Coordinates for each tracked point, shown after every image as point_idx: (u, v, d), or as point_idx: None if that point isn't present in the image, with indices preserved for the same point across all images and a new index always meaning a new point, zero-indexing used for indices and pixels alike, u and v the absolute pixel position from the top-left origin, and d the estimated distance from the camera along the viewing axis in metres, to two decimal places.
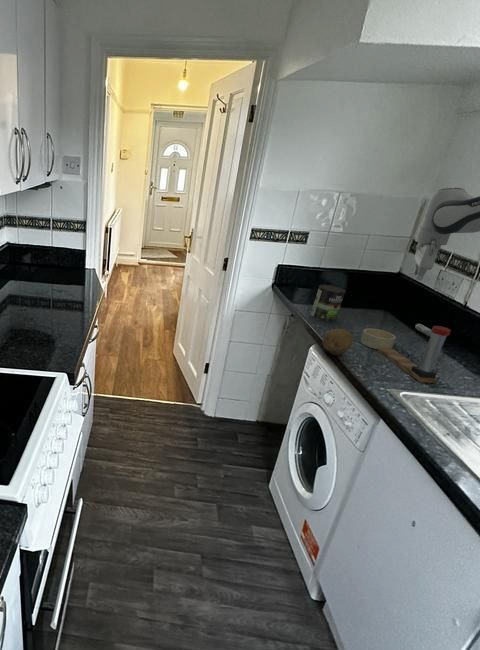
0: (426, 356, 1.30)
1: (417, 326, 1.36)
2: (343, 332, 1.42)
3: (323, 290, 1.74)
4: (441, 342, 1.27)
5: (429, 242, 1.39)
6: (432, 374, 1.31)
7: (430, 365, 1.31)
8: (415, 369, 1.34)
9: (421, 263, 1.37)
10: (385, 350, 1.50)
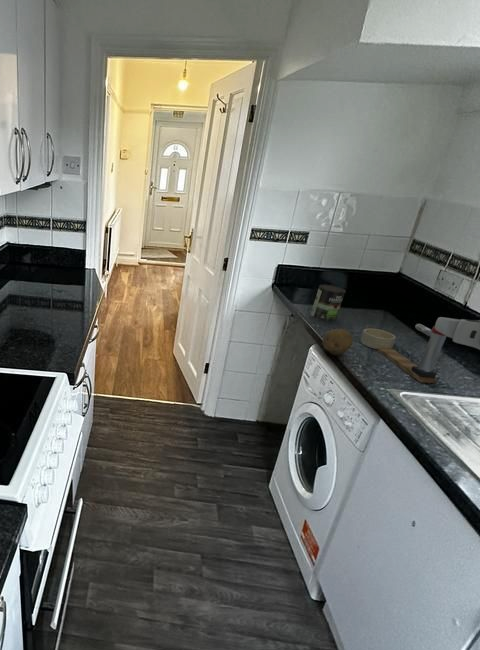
0: (426, 356, 1.30)
1: (417, 326, 1.36)
2: (343, 332, 1.42)
3: (323, 290, 1.74)
4: (441, 342, 1.27)
5: None
6: (432, 374, 1.31)
7: (430, 365, 1.31)
8: (415, 369, 1.34)
9: None
10: (385, 350, 1.50)
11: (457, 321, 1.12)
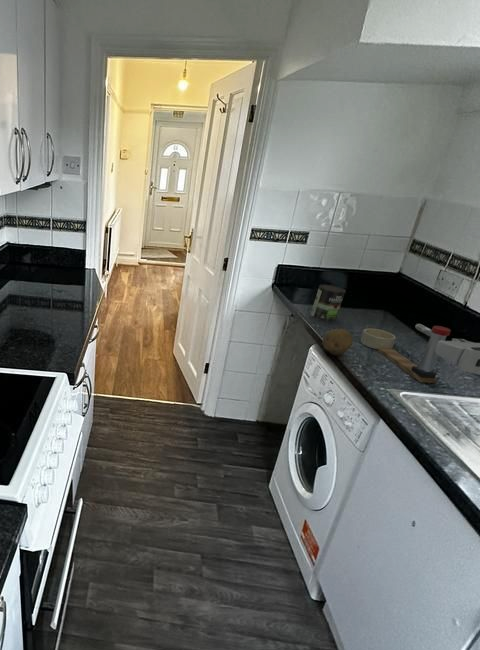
0: (426, 356, 1.30)
1: (417, 326, 1.36)
2: (343, 332, 1.42)
3: (323, 290, 1.74)
4: None
5: None
6: (432, 374, 1.31)
7: (430, 365, 1.31)
8: (415, 369, 1.34)
9: None
10: (385, 350, 1.50)
11: (462, 349, 1.10)
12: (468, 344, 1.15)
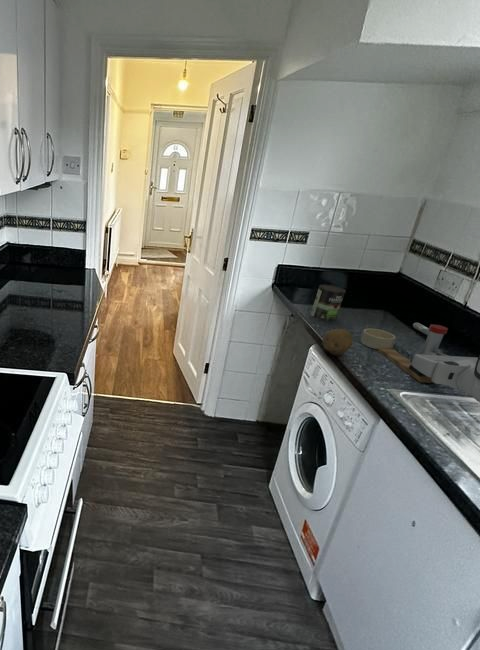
0: (424, 354, 1.32)
1: (415, 325, 1.37)
2: (343, 332, 1.42)
3: (323, 290, 1.74)
4: (438, 340, 1.28)
5: None
6: None
7: None
8: (413, 367, 1.35)
9: None
10: (385, 350, 1.50)
11: (435, 362, 1.19)
12: (443, 358, 1.23)
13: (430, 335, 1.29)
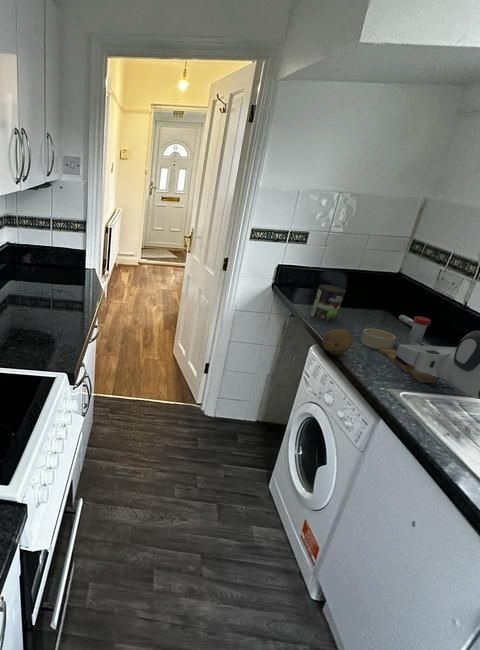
0: None
1: (400, 317, 1.43)
2: (343, 332, 1.42)
3: (323, 290, 1.74)
4: (422, 331, 1.35)
5: None
6: None
7: None
8: (398, 357, 1.42)
9: None
10: (385, 350, 1.50)
11: (418, 352, 1.25)
12: (425, 348, 1.29)
13: (414, 326, 1.36)
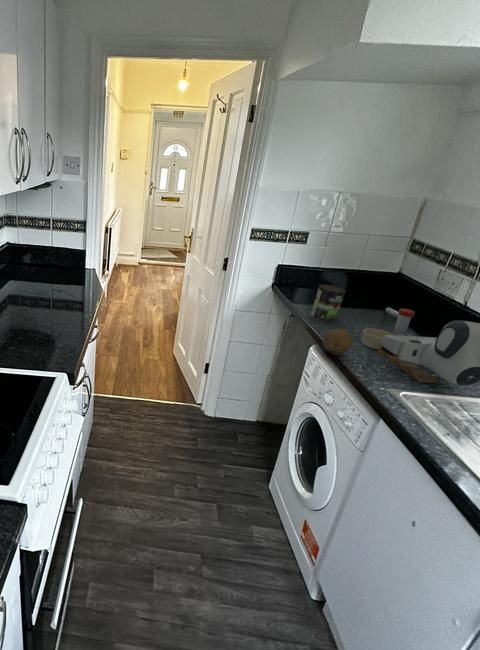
0: None
1: (387, 309, 1.50)
2: (343, 332, 1.42)
3: (323, 290, 1.74)
4: (406, 323, 1.42)
5: None
6: None
7: None
8: (384, 348, 1.49)
9: None
10: None
11: (401, 341, 1.32)
12: (409, 338, 1.36)
13: (399, 318, 1.43)
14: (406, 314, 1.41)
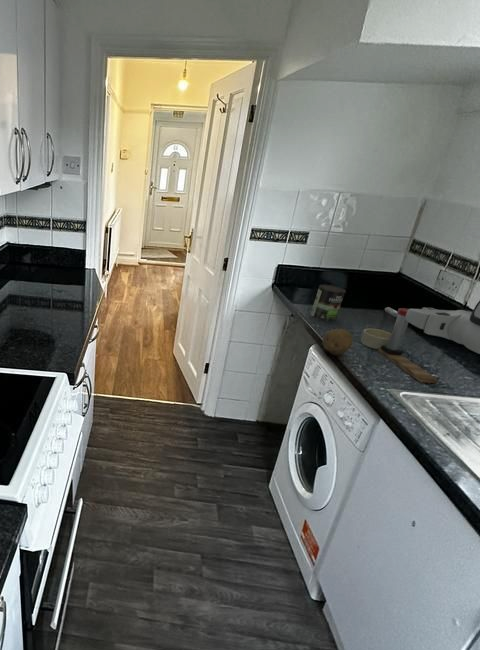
0: (393, 335, 1.45)
1: (386, 309, 1.51)
2: (343, 332, 1.42)
3: (323, 290, 1.74)
4: (406, 322, 1.42)
5: None
6: (398, 352, 1.46)
7: (396, 344, 1.45)
8: (384, 348, 1.49)
9: None
10: None
11: (427, 314, 1.23)
12: (435, 311, 1.27)
13: (398, 318, 1.43)
14: (405, 314, 1.41)
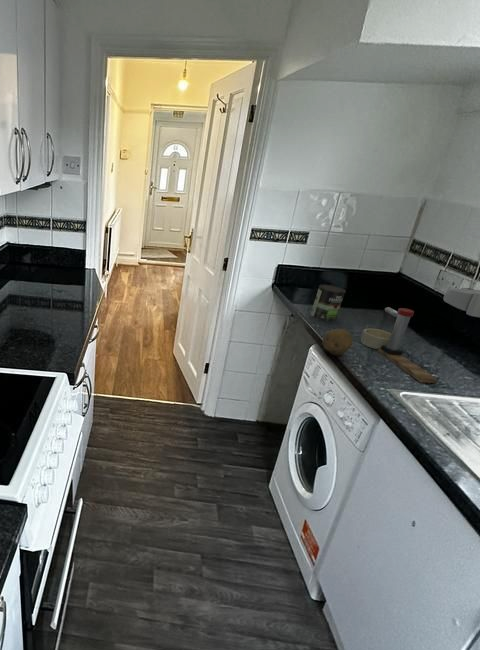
0: (393, 335, 1.45)
1: (386, 309, 1.51)
2: (343, 332, 1.42)
3: (323, 290, 1.74)
4: (406, 322, 1.42)
5: None
6: (398, 352, 1.46)
7: (396, 344, 1.45)
8: (384, 348, 1.49)
9: None
10: None
11: (471, 293, 1.10)
12: (477, 291, 1.14)
13: (398, 318, 1.43)
14: (405, 314, 1.41)
